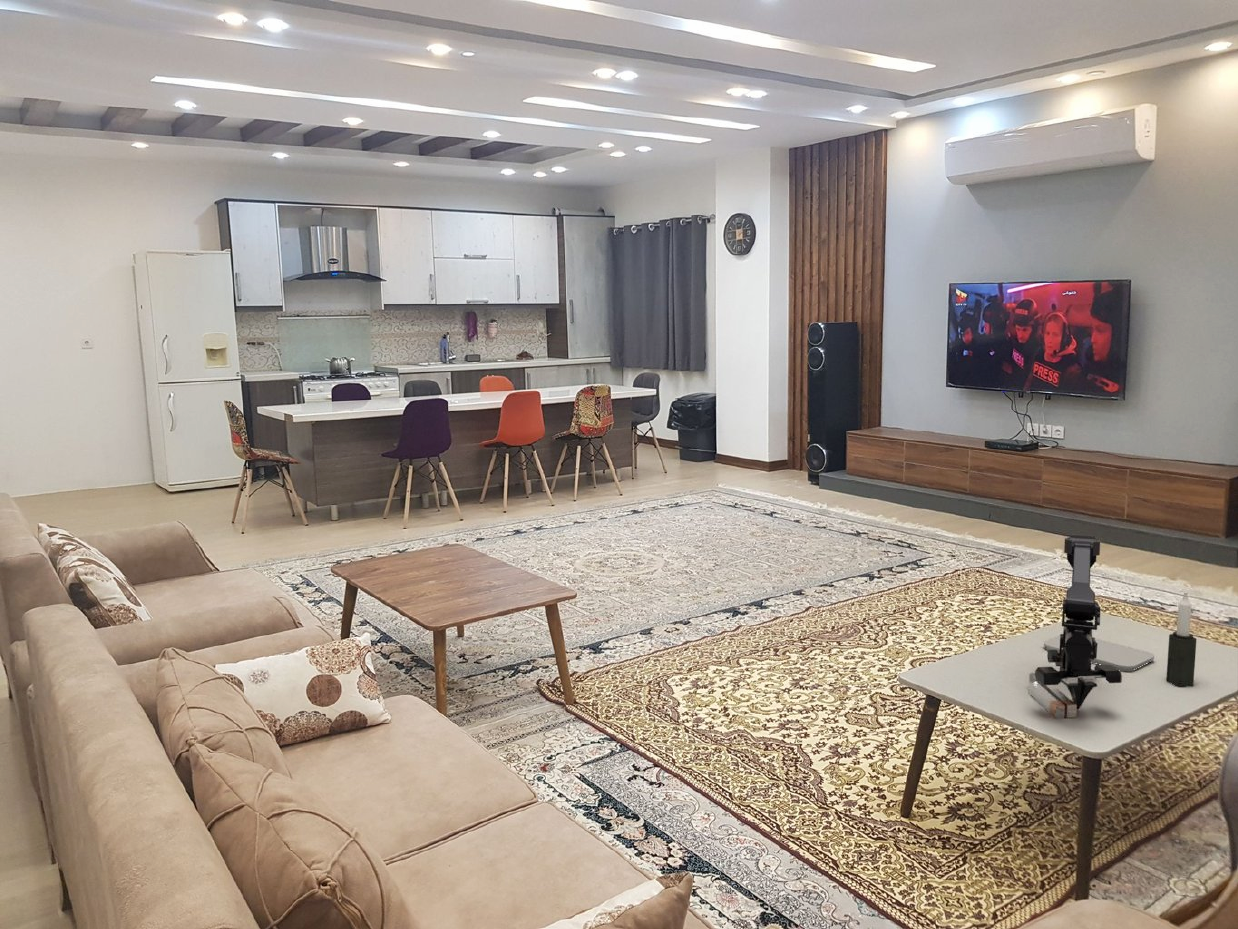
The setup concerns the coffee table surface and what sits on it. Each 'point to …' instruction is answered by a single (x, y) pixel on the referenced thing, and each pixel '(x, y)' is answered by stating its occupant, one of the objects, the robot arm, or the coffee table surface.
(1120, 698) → the coffee table surface
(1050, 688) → the tongs arm
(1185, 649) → the candle
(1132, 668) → the tablet
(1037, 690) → the base
